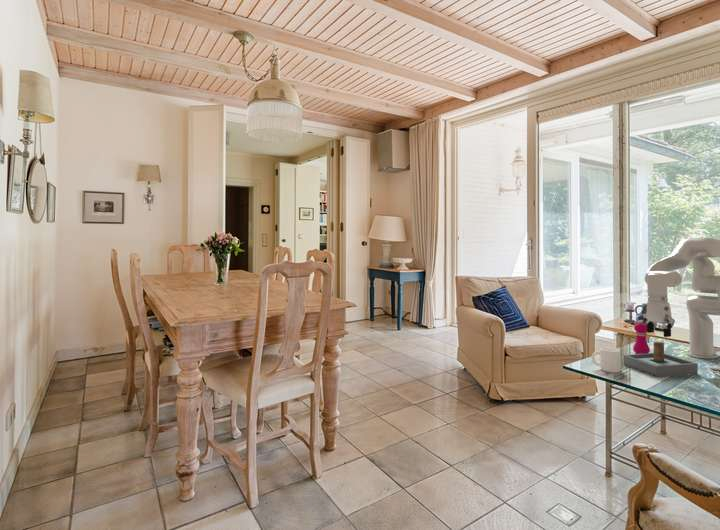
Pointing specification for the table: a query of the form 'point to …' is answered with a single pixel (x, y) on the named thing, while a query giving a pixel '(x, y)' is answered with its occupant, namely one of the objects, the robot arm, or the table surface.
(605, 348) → the mug
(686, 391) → the table surface
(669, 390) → the table surface
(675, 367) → the tray
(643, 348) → the pepper mill
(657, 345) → the peg
